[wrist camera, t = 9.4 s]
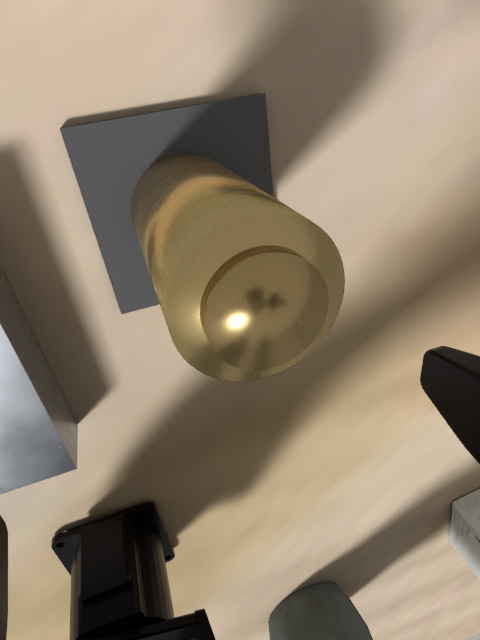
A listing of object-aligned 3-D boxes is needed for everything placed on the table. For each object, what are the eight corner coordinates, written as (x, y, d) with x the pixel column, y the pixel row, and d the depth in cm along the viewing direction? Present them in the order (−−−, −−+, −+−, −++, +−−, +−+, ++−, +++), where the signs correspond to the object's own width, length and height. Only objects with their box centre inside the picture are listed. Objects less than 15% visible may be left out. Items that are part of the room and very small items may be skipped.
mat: (276, 269, 21) (279, 272, 21) (120, 310, 20) (121, 314, 19) (261, 93, 17) (264, 93, 17) (60, 127, 15) (59, 128, 15)
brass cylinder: (245, 249, 20) (354, 364, 12) (146, 274, 19) (192, 417, 11) (232, 142, 17) (360, 197, 9) (116, 164, 16) (148, 248, 8)
